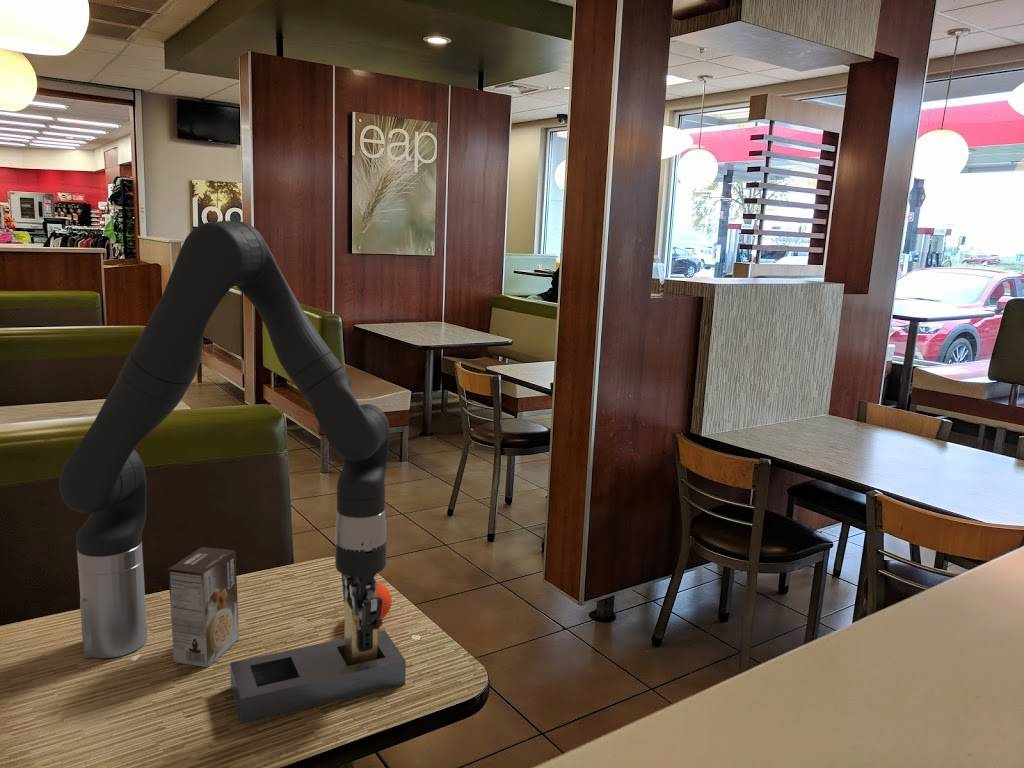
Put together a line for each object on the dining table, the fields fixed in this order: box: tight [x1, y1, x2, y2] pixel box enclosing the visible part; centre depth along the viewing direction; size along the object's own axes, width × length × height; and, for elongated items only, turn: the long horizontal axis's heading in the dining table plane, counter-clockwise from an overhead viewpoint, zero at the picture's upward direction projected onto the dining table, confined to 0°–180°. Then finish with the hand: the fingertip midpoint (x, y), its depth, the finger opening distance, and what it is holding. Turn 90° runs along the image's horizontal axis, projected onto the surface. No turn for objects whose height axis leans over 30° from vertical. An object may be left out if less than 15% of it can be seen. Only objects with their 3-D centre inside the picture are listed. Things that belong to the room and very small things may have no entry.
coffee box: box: [167, 546, 240, 668], centre depth 124 cm, size 9×6×16 cm
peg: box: [344, 597, 379, 666], centre depth 119 cm, size 4×4×10 cm
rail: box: [229, 629, 407, 725], centre depth 117 cm, size 24×10×4 cm, turn 118°
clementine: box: [376, 581, 393, 621], centre depth 136 cm, size 8×7×7 cm
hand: (360, 642), depth 119 cm, fingers closed on peg, 4 cm apart
